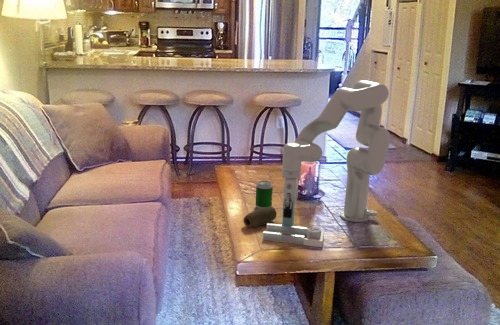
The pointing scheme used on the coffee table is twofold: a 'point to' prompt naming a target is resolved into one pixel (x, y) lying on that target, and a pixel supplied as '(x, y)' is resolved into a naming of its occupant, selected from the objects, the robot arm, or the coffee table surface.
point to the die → (314, 233)
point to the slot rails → (277, 233)
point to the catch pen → (314, 240)
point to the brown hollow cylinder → (260, 217)
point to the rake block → (288, 220)
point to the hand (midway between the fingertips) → (288, 213)
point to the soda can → (264, 194)
